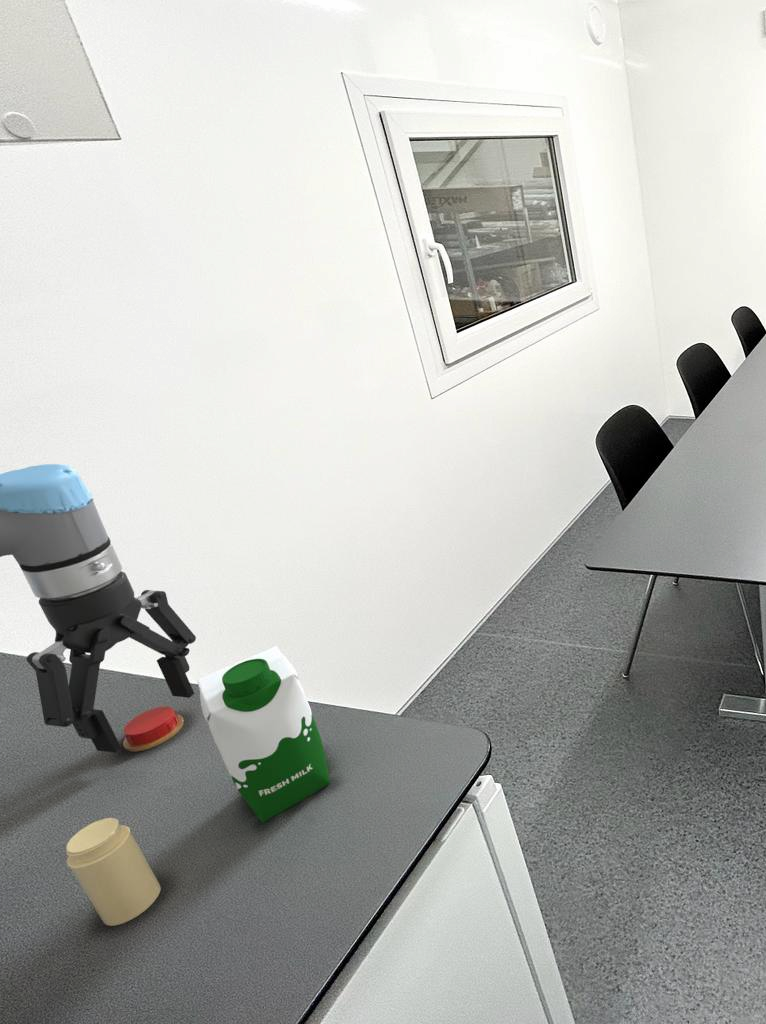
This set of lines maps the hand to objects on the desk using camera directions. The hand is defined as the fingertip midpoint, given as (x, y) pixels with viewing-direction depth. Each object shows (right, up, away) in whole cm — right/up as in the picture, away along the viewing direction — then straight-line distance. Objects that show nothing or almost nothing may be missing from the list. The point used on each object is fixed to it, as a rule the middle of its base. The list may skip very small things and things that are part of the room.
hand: (148, 720), depth 86 cm
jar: (+19, -10, -20) cm, 29 cm away
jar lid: (0, 0, 0) cm, 0 cm away
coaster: (0, -2, +1) cm, 2 cm away
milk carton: (+25, -5, -6) cm, 26 cm away
